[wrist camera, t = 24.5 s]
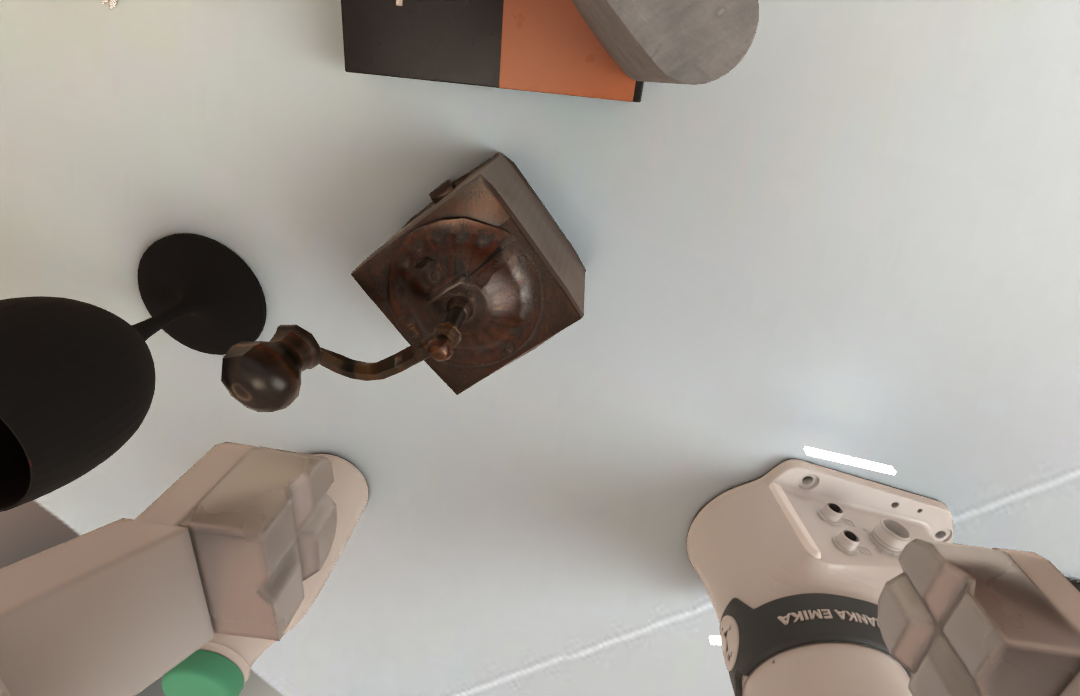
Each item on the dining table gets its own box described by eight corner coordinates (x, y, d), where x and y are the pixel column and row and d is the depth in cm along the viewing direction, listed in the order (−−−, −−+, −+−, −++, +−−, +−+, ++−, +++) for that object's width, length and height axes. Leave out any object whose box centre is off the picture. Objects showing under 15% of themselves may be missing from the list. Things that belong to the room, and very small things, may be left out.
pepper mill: (499, 139, 37) (430, 185, 21) (589, 268, 41) (590, 393, 24) (340, 264, 42) (185, 378, 26) (433, 370, 45) (348, 529, 29)
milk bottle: (297, 439, 50) (133, 641, 32) (378, 466, 50) (262, 679, 33) (286, 499, 53) (132, 712, 35) (362, 524, 54) (249, 745, 36)
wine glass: (220, 214, 41) (-66, 319, 23) (291, 334, 45) (94, 503, 27) (113, 256, 43) (-223, 381, 25) (190, 367, 47) (-53, 542, 29)
